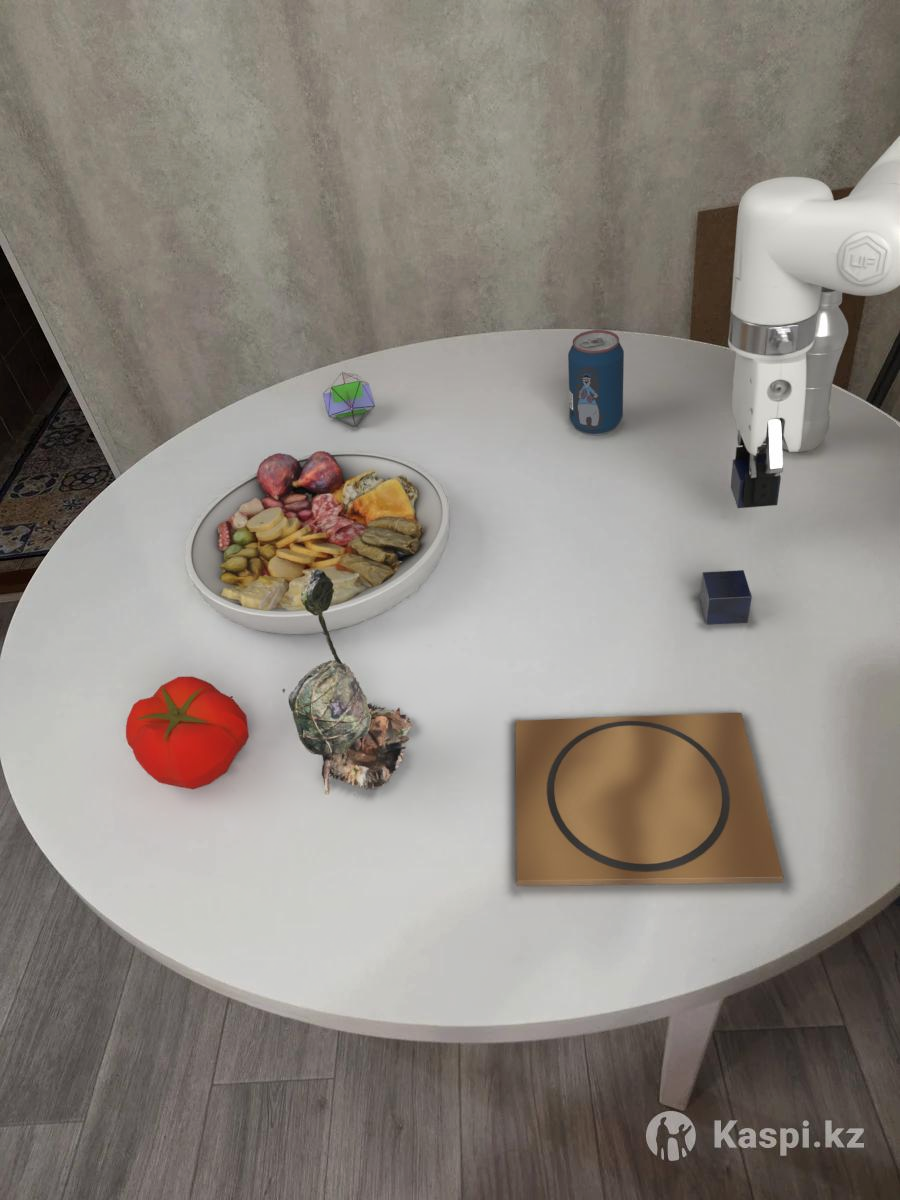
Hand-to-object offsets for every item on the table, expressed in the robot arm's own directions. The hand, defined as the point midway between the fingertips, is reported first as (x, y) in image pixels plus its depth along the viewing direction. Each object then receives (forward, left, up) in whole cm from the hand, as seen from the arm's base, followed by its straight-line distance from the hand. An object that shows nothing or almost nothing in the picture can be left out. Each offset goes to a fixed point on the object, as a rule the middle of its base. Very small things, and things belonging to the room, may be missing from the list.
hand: (754, 490), depth 91 cm
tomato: (+56, +28, -6) cm, 62 cm away
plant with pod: (+40, +29, -6) cm, 49 cm away
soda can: (+15, -25, -6) cm, 30 cm away
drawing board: (+16, +34, -6) cm, 38 cm away
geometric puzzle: (+49, -31, -6) cm, 58 cm away
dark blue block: (+5, +12, -6) cm, 14 cm away
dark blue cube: (0, 0, -1) cm, 1 cm away
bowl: (+48, 0, -6) cm, 48 cm away
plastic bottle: (-9, -17, -6) cm, 21 cm away
